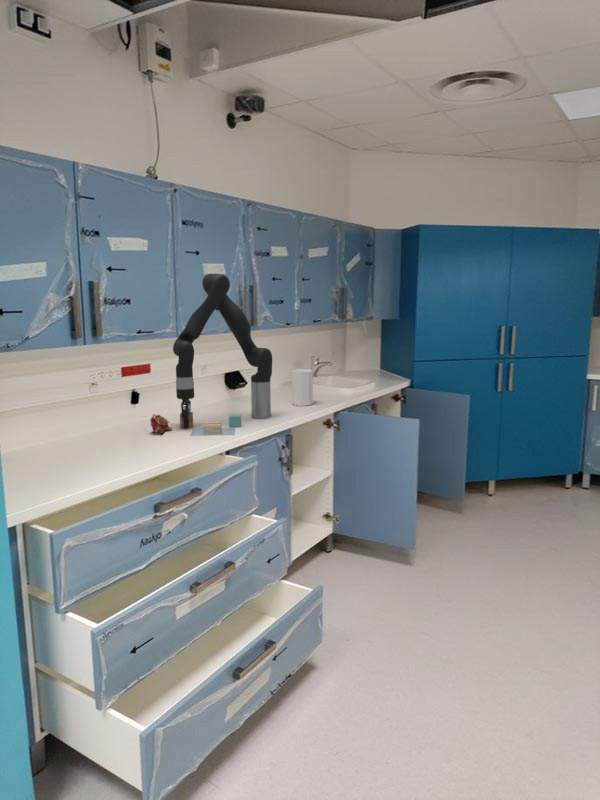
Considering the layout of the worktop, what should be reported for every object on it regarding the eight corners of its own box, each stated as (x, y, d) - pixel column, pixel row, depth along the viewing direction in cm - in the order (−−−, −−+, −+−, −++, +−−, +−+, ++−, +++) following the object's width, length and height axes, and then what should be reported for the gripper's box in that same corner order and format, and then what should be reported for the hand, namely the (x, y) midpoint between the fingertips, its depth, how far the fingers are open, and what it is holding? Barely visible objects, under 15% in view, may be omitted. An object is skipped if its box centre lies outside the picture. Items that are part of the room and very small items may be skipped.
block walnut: (181, 425, 253) (181, 412, 252) (193, 425, 254) (192, 412, 253) (180, 428, 248) (179, 414, 247) (192, 428, 249) (191, 414, 248)
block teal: (229, 427, 255) (229, 414, 254) (241, 427, 256) (240, 414, 255) (229, 430, 250) (229, 416, 249) (240, 429, 251) (240, 416, 250)
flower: (144, 432, 239) (155, 416, 238) (144, 423, 247) (154, 408, 246) (164, 442, 243) (175, 428, 242) (163, 434, 251) (173, 419, 250)
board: (193, 431, 248) (192, 428, 248) (235, 430, 250) (235, 427, 250) (189, 438, 235) (189, 435, 234) (234, 437, 236) (234, 434, 236)
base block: (204, 430, 243) (204, 422, 243) (221, 430, 244) (221, 421, 243) (203, 434, 236) (203, 425, 236) (221, 434, 237) (220, 425, 236)
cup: (303, 402, 320) (303, 368, 317) (317, 404, 311) (317, 370, 308) (287, 404, 313) (287, 370, 310) (300, 407, 304) (300, 372, 301)
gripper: (192, 389, 241) (194, 429, 244) (195, 384, 255) (197, 422, 258) (174, 390, 241) (176, 429, 244) (178, 385, 255) (180, 422, 258)
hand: (186, 425), depth 251 cm, fingers closed on block walnut, 5 cm apart
